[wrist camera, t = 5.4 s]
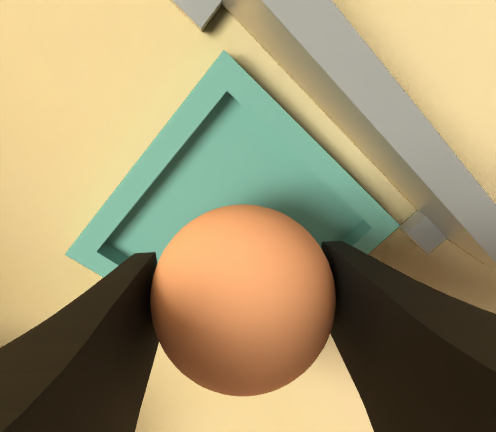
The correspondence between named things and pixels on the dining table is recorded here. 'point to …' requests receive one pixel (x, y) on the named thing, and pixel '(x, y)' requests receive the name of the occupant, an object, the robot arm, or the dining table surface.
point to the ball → (243, 300)
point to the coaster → (229, 176)
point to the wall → (369, 115)
